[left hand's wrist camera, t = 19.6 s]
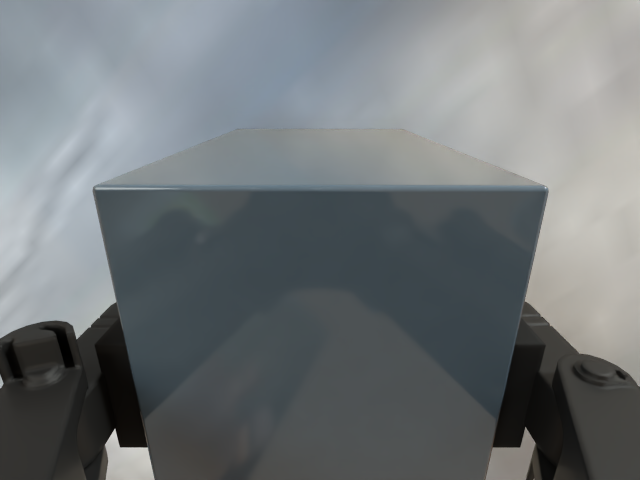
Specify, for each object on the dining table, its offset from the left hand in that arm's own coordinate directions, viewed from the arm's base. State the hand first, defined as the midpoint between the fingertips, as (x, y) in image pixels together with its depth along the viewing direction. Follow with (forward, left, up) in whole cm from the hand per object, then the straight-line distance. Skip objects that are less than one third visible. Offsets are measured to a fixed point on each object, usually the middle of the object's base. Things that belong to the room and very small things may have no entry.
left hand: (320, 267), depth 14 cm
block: (0, 0, -4) cm, 4 cm away
